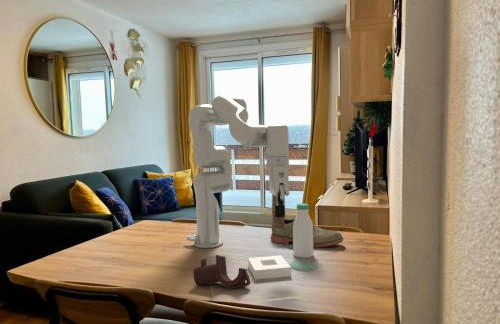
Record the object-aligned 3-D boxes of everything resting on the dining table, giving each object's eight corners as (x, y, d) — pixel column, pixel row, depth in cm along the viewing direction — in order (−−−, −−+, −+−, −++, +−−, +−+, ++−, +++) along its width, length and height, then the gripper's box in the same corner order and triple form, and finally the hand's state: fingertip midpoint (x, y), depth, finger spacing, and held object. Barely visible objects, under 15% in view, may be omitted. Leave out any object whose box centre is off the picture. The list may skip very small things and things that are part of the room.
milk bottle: (313, 259, 132) (312, 206, 130) (292, 258, 133) (291, 206, 132) (313, 252, 139) (313, 202, 138) (294, 251, 141) (293, 202, 139)
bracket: (247, 285, 102) (243, 250, 106) (193, 292, 106) (191, 258, 110) (253, 285, 108) (249, 252, 112) (202, 292, 112) (200, 260, 116)
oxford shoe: (342, 250, 141) (342, 221, 141) (266, 244, 152) (266, 217, 151) (344, 243, 152) (344, 215, 151) (273, 237, 162) (273, 212, 162)
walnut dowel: (274, 227, 117) (273, 195, 117) (271, 225, 121) (271, 193, 120) (285, 227, 118) (285, 194, 117) (282, 224, 122) (282, 192, 121)
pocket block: (255, 281, 112) (254, 270, 112) (248, 267, 124) (248, 258, 124) (291, 277, 114) (291, 267, 114) (281, 264, 126) (281, 255, 126)
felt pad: (294, 273, 118) (294, 272, 118) (285, 263, 128) (285, 261, 128) (322, 271, 120) (322, 269, 120) (312, 261, 129) (312, 259, 129)
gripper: (295, 162, 110) (296, 220, 112) (282, 160, 127) (283, 210, 128) (272, 163, 109) (273, 221, 110) (262, 160, 126) (262, 211, 127)
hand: (278, 215), depth 119 cm, fingers closed on walnut dowel, 4 cm apart
